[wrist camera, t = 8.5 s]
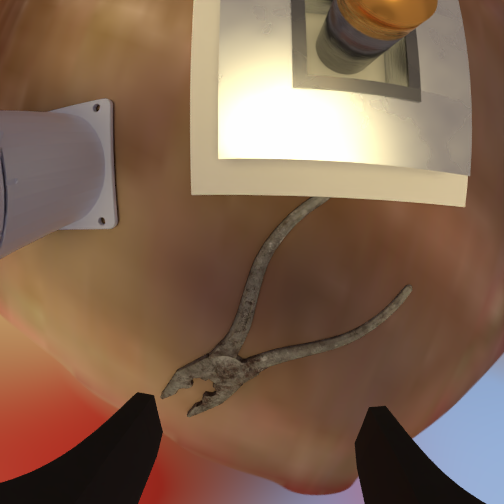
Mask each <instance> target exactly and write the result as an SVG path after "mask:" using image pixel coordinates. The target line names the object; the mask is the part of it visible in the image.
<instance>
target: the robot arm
mask: <svg viewBox="0 0 504 504" xmlns="http://www.w3.org/2000/svg"><path fill="white" fill-rule="evenodd" d="M97 105H100V109H99V111H96V107H97ZM101 218H104V219H105V224H103V223H102V221H101ZM117 223H118V217H117V205H116V192H115V176H114V153H113V103H112V101H111V100H109V99H99V100H94V101H89V102H85V103H80V104H76V105H72V106H68V107H64V108H60V109H56V110H52V111H48V112H37V111H11V110H0V259H1V258H3V257H5V256H7V255H8V254H10V253H12V252H14V251H16V250H18V249H20V248H22V247H24V246H26V245H28V244H30V243H32V242H34V241H36V240H38V239H40V238H42V237H44V236H46V235H48V234H50V233H52V232H54V231H56V230H67V229H112V228H114V227H115V226H116V225H117ZM162 433H163V431H162V427H161V423H160V419H159V415H158V411H157V406H156V402H155V398H154V395H150V394H144V393H139V392H137V393H136V394H135V395H134V396H133V397H132V398H131V399H130V400H129V401H127V402H126V403H125V404H124V405H123V406H122V407H121V408H120V409H119V410H118V411H117V412H116V413H115V414H114V415H113V416H112V417H111V418H109V419H108V420H107V421H106V422H105V423H104V424H103V425H101V426H100V427H99V428H98V429H97V430H96V431H95V432H93V433H92V434H91V435H90V436H88V437H87V438H86V439H84V440H83V441H82V442H81V443H79V444H78V445H77V446H76V447H74V448H72V449H71V450H70V451H68V452H67V453H65V454H63V455H62V456H61V457H59V458H57V459H55V460H54V461H52V462H50V463H48V464H46V465H44V466H42V467H41V468H38V469H36V470H34V471H32V472H30V473H27V474H25V475H22V476H19V477H17V478H14V479H12V480H8V481H5V482H2V483H0V504H138V502H139V500H140V497H141V495H142V492H143V489H144V487H145V485H146V482H147V480H148V477H149V475H150V472H151V470H152V467H153V464H154V462H155V459H156V457H157V453H158V450H159V445H160V441H161V437H162ZM355 452H356V463H357V470H358V475H359V479H360V484H361V489H362V493H363V497H364V502H365V504H486V503H484V502H482V501H481V500H479V499H477V498H476V497H474V496H473V495H471V494H470V493H468V492H467V491H465V490H464V489H463V488H461V487H460V486H459V485H457V484H456V483H455V482H454V481H453V480H452V479H450V478H449V477H448V476H447V475H445V474H444V473H443V472H442V471H441V470H440V469H439V468H438V467H437V466H436V465H435V464H434V463H433V462H432V461H431V460H430V459H429V458H428V457H427V455H426V454H425V453H424V452H423V451H422V450H421V449H420V448H419V446H418V445H417V444H416V443H415V442H414V441H413V439H412V438H411V437H410V436H409V435H408V433H407V432H406V431H405V430H404V428H403V427H402V426H401V425H400V423H399V422H398V421H397V420H396V418H395V417H394V416H393V415H392V413H391V412H390V411H389V410H388V408H387V407H386V406H379V407H369V409H368V411H367V414H366V416H365V419H364V422H363V424H362V427H361V429H360V432H359V434H358V436H357V439H356V441H355Z"/></svg>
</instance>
